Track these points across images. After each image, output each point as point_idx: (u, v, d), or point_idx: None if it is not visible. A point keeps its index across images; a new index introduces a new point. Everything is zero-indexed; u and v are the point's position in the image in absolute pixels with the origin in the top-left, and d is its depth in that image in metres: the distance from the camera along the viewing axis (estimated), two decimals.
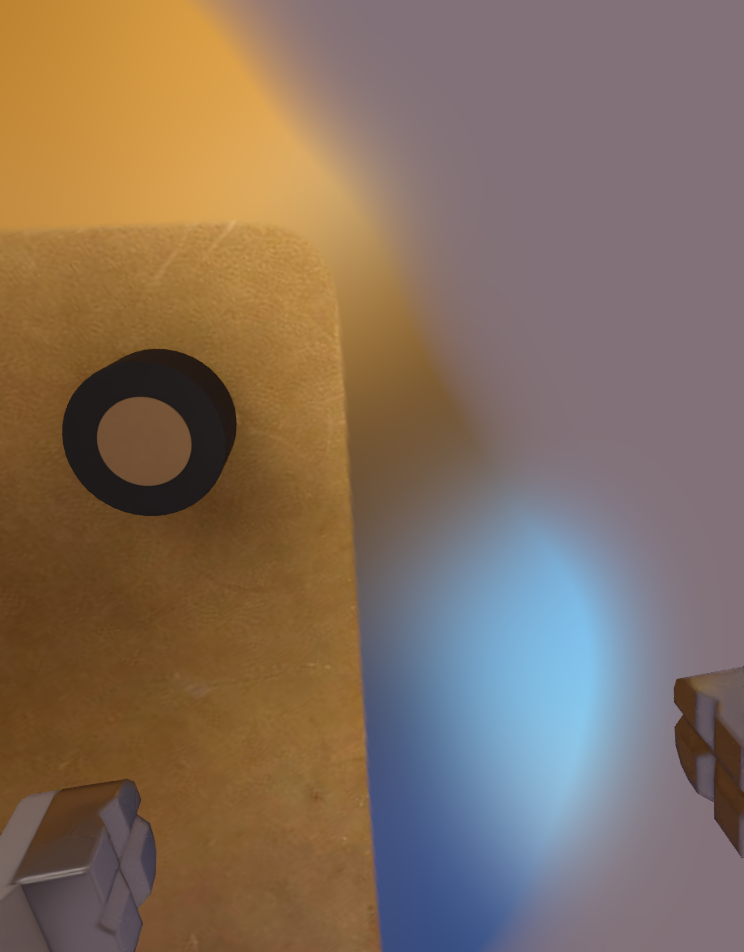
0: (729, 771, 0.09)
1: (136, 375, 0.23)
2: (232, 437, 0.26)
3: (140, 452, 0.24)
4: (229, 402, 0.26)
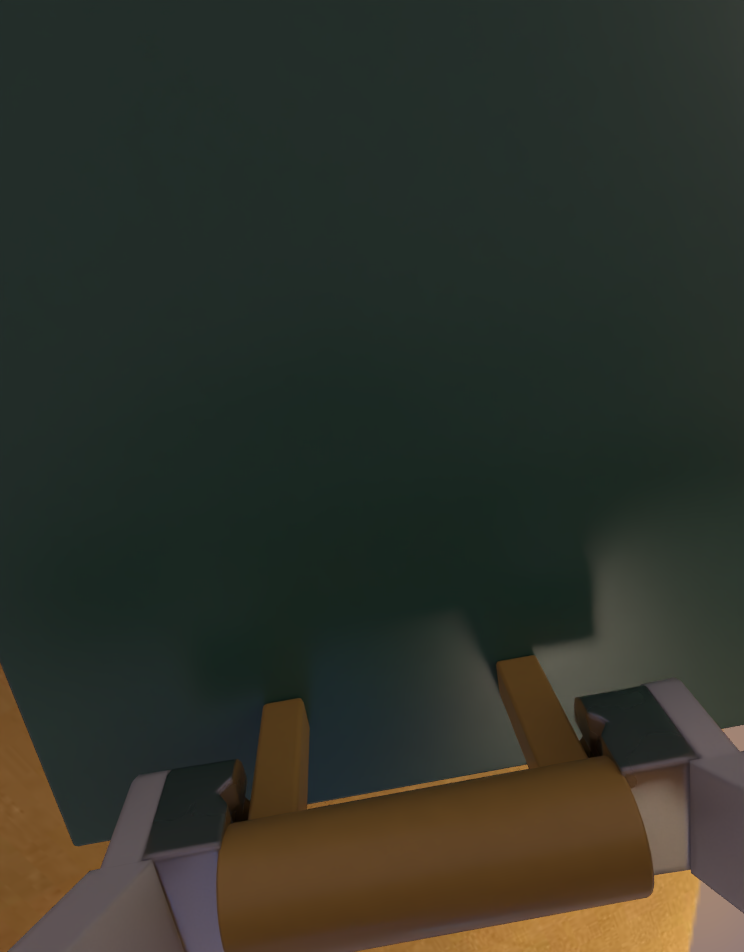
0: None
1: None
2: None
3: None
4: None
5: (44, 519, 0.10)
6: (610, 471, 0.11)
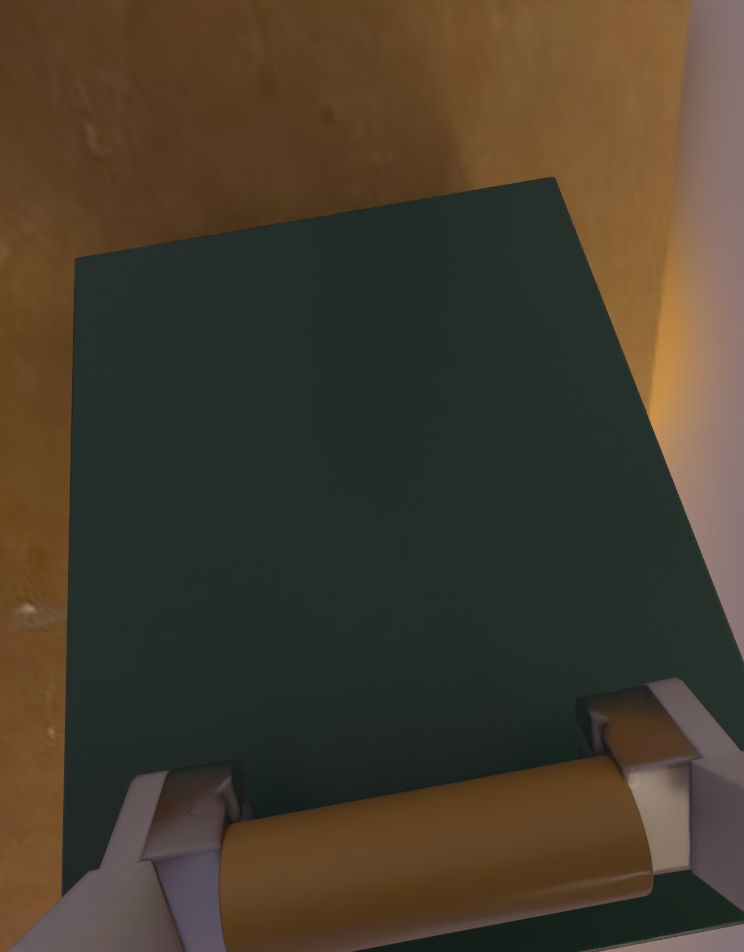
0: None
1: None
2: None
3: None
4: None
5: (140, 643, 0.13)
6: (587, 606, 0.13)
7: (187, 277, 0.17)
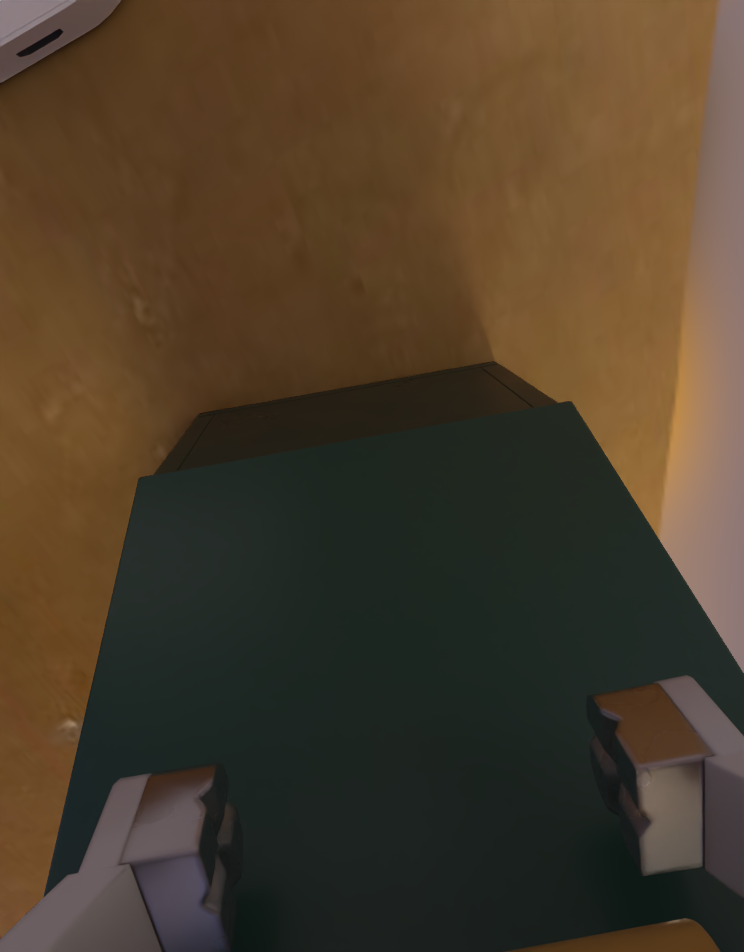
0: (628, 790, 0.09)
1: None
2: None
3: None
4: None
5: None
6: None
7: (235, 488, 0.18)
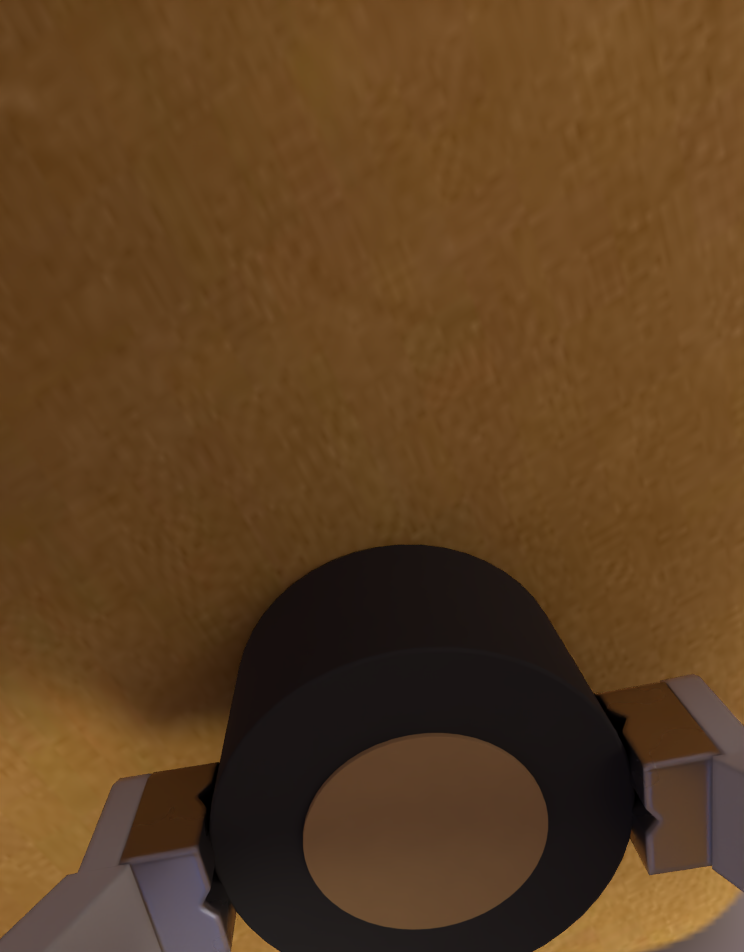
0: (635, 788, 0.09)
1: (600, 822, 0.09)
2: None
3: (399, 825, 0.09)
4: None
5: None
6: None
7: None
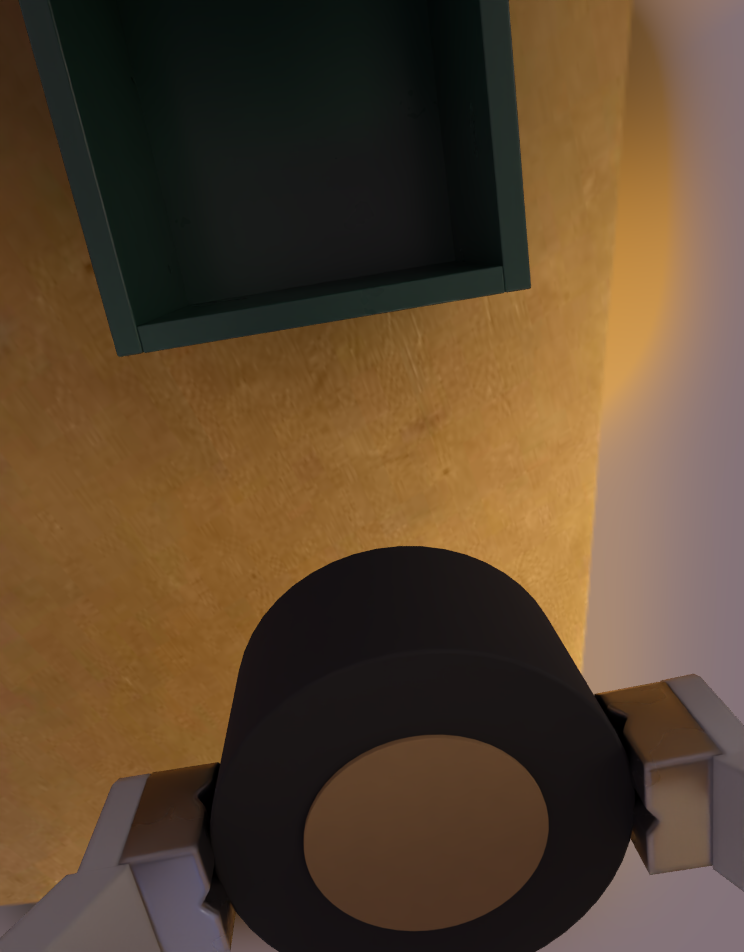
0: (636, 788, 0.09)
1: (601, 824, 0.09)
2: None
3: (399, 826, 0.09)
4: None
5: None
6: None
7: None
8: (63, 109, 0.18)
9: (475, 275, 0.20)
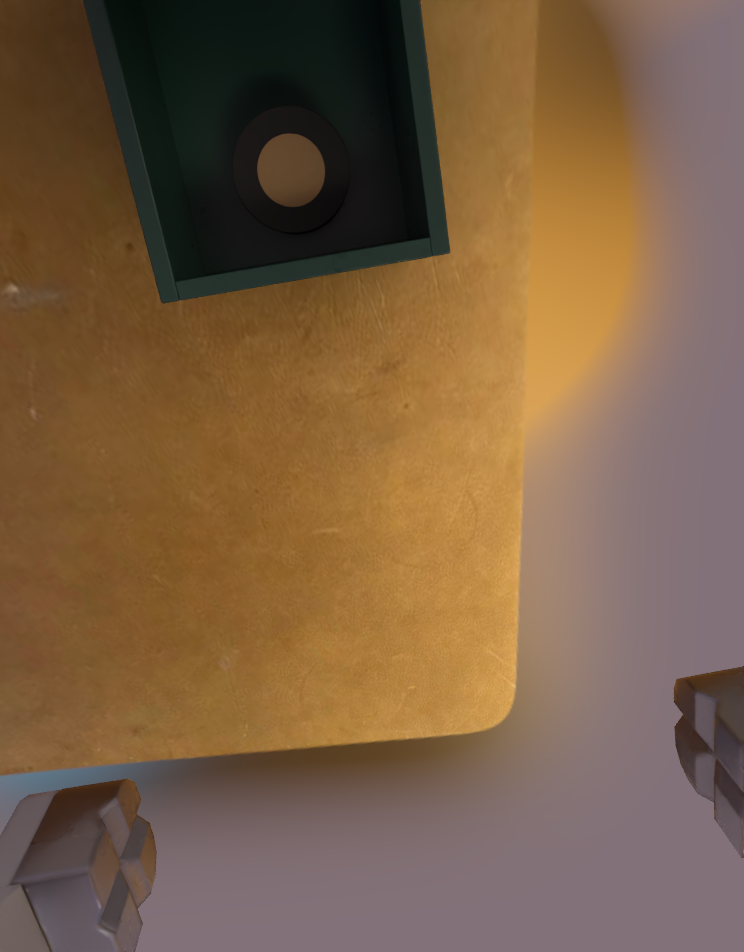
0: (729, 771, 0.09)
1: (340, 170, 0.33)
2: (287, 233, 0.35)
3: (283, 166, 0.32)
4: (311, 231, 0.35)
5: None
6: None
7: None
8: (127, 132, 0.27)
9: (410, 244, 0.29)
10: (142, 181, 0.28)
